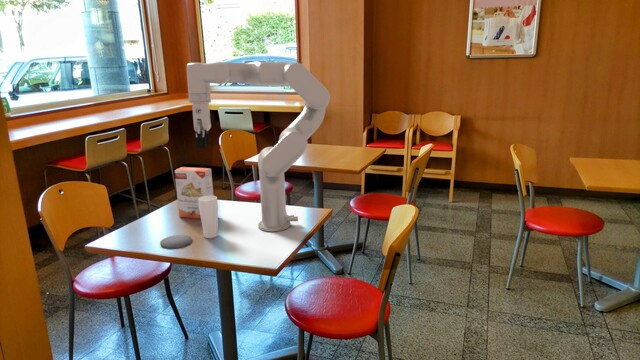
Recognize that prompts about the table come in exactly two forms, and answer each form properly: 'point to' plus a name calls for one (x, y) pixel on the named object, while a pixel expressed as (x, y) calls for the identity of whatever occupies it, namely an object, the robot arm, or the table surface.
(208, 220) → the drinking glass
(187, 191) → the cracker box
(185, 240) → the coaster
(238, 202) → the table surface
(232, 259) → the table surface
